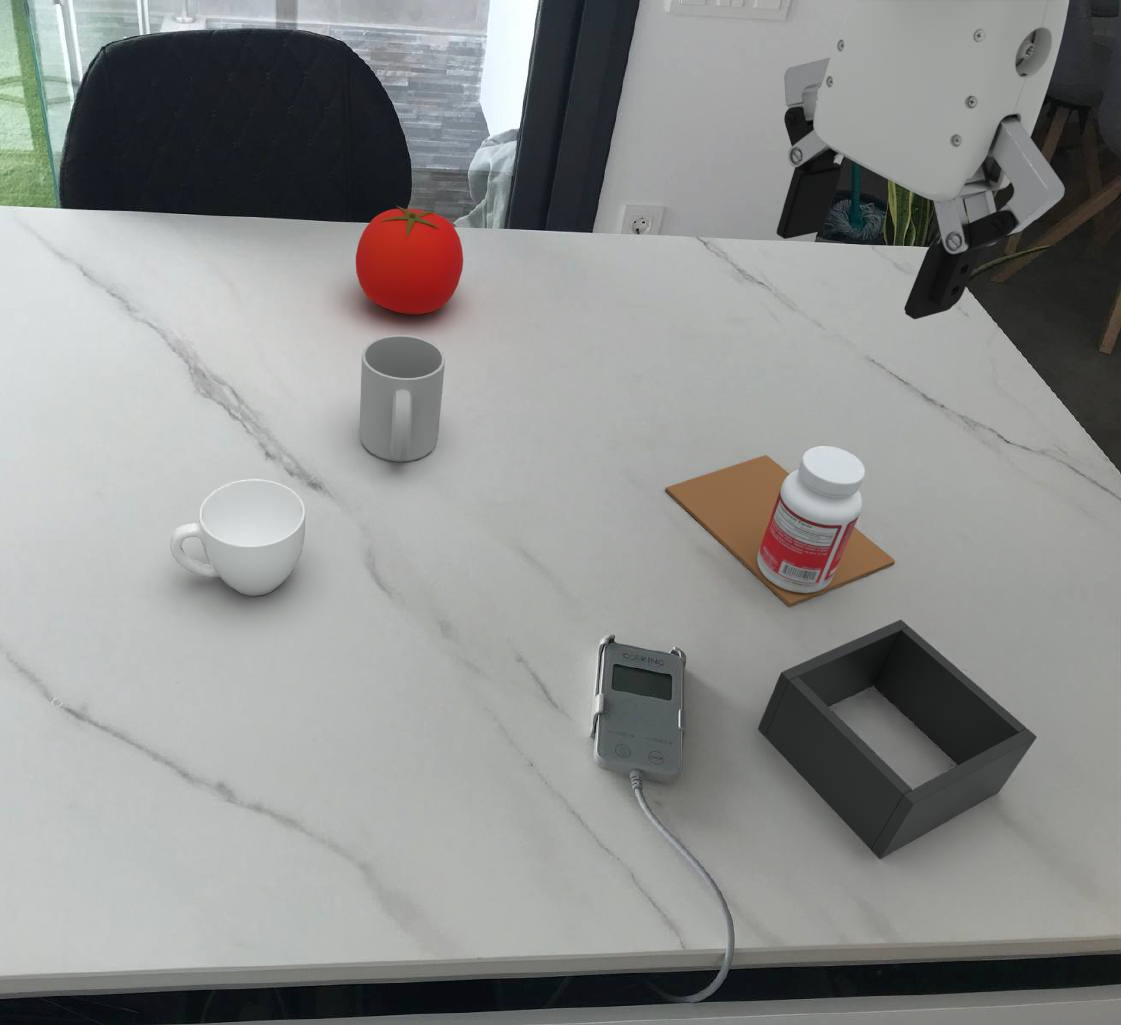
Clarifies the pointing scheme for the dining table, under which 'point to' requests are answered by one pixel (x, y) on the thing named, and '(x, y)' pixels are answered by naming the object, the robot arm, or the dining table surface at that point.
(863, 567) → the cork mat
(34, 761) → the dining table surface
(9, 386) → the dining table surface
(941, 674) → the bin
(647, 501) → the dining table surface
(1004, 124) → the robot arm
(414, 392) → the cup
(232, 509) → the cup
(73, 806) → the dining table surface
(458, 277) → the tomato
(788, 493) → the pill bottle
